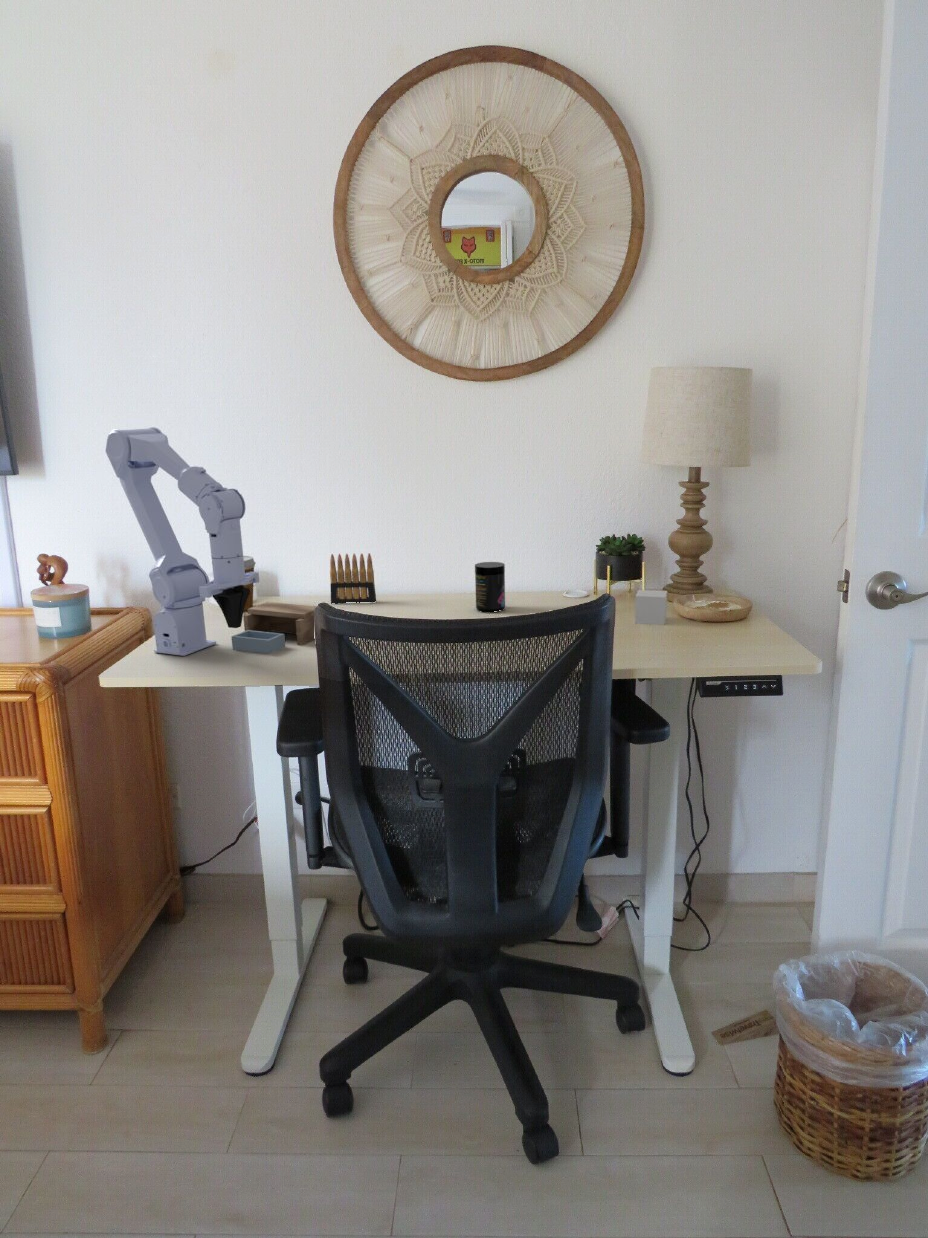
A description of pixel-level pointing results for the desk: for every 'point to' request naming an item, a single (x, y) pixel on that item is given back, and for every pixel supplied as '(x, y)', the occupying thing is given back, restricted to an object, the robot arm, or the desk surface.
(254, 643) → the grey tray
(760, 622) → the desk surface
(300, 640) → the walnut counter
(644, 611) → the grey cube
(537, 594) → the desk surface
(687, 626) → the desk surface
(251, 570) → the disposable coffee cup
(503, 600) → the supplement container
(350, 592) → the ammunition clip
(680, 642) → the desk surface
